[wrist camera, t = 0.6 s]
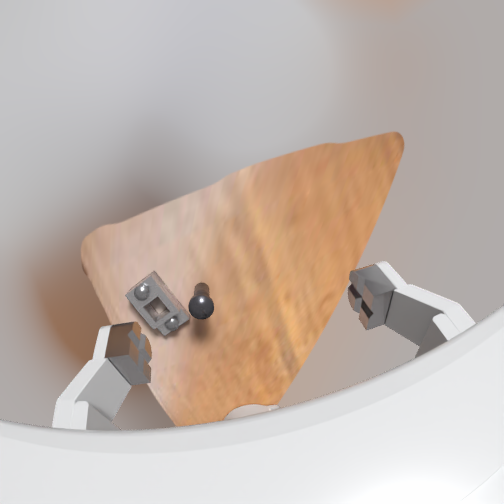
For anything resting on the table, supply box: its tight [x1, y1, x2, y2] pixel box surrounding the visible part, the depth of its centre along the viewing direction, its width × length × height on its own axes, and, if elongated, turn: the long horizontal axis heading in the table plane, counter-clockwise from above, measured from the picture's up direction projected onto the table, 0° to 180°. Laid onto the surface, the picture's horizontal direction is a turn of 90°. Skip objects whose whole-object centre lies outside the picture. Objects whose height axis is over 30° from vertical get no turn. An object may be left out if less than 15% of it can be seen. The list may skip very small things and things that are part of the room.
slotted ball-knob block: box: [125, 271, 190, 336], centre depth 54 cm, size 12×7×5 cm, turn 34°
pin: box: [189, 283, 214, 319], centre depth 52 cm, size 4×4×10 cm
